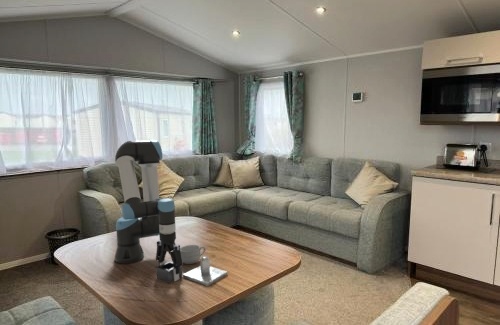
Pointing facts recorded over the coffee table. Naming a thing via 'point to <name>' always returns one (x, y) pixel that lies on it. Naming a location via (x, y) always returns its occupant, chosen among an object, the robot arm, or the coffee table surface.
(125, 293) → the coffee table surface
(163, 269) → the grey square hollow block
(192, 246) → the teacup
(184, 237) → the coffee table surface
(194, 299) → the coffee table surface
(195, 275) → the grey plate with post
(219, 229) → the coffee table surface
